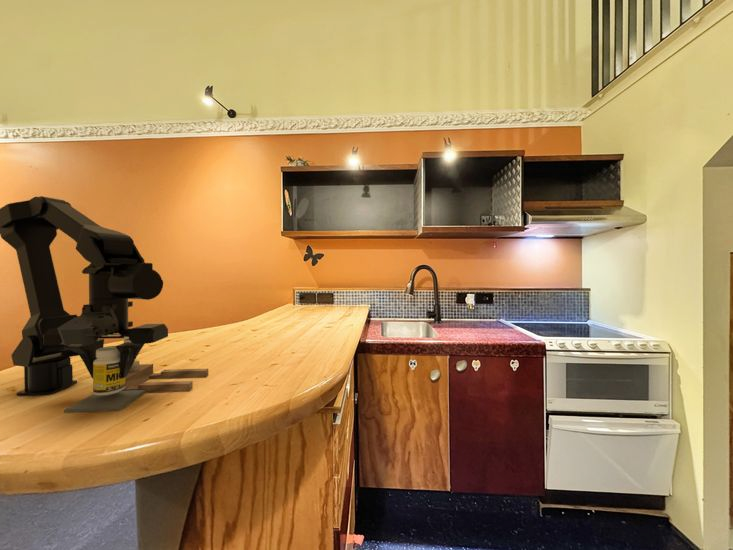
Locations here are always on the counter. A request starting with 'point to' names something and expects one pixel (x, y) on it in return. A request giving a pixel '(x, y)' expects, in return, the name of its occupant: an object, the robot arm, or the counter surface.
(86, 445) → the counter surface
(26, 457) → the counter surface
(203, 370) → the plane body
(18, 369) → the counter surface
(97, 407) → the mat
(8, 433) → the counter surface
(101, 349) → the supplement bottle
